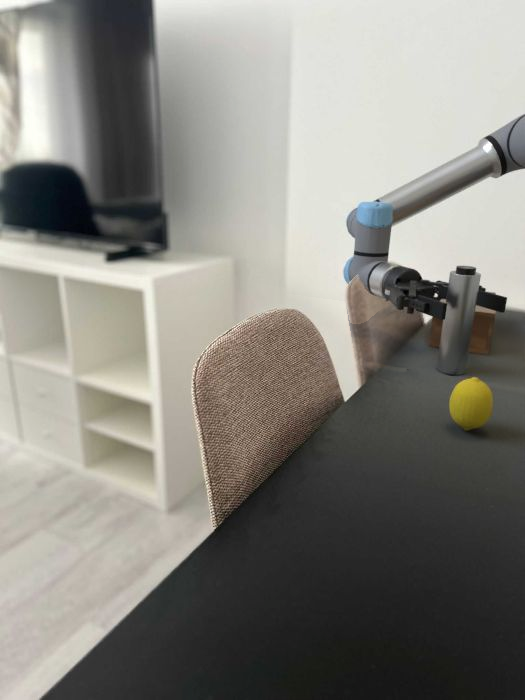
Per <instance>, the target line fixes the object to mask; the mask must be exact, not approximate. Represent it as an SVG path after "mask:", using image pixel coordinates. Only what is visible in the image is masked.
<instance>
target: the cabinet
mask: <svg viewBox="0 0 525 700" xmlns="http://www.w3.org/2000/svg"><path fill="white" fill-rule="evenodd" d="M440 301H441V302H444V303H446V299H441V300H440ZM496 315H497V311H494V310H491V309H487V308H484V307H481V306H477V305H476V308H475V315H474V321H473V327H472V333H471V339H470V345H469V351H468V353H472V354H478V355H485V356H489V354H490V348H491V341H492V336H493V332H494V331H493V330H494V325H495V319H496ZM431 317H432V316H431ZM442 326H443V320H441V319H438V318H435V317H432V318H431V326H430V332H429V340H428V347H430V348H431V347H432V348H438V349H439V347H440V340H441V333H442Z"/></svg>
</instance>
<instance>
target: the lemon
mask: <svg viewBox="0 0 525 700" xmlns="http://www.w3.org/2000/svg"><path fill="white" fill-rule="evenodd" d="M448 406H449V415H450V416H451V419H452V420H453V422H454V423H456V424H457V425H458V426H460V427H461V428H462V430H465V431H466V432H467V431H468V432H469V431H470V430H472V429H478V428H481V427H482V426H483V425H485V424H486V423H487V422H488V421H489V419H490V418H491V415H492V413H493V408H494V407H493V406H494V400H493V392H492V390H491V388H490V387H489V385H487V384H486V382H484V381H482V380H481V379H480V378H479V377H477V376H472V377H471V378H465V379H463V380H461V381H460V382H458V383H457V384H456V385H455V386H454V388H453V390H452V392H451V394H450V398H449V402H448Z"/></svg>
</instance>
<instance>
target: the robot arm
mask: <svg viewBox="0 0 525 700" xmlns="http://www.w3.org/2000/svg"><path fill="white" fill-rule="evenodd" d="M519 170H525V113H523V114H520V115H519V116H518V117H516V118H514V119H513V120H511V121H509V122H508V123H506V124H504V125H503V126H501V127H500V128H498V129H497V130H494V131H493V132H491V133H490V134H488V135H486V136H484V137H482V138H480V140H478V143H477V145H476V146H475V147H473V148H471V149H469V150H468V151H466V152H464V153H462V154H460V155H458V156H456V157H454V158H453V159H451V160H448V161H446V162H444V163H442V164H441V165H439V166H437V167H435V168H433V169H431V170H430V171H427V172H425V173H424V174H422V175H420V176H418V177H416V178H414V179H412V180H410V181H409V182H406V183H405V184H403V185H401V186H399V187H397V188H395V189H393V190H391V191H390V192H387V193H386V194H384V195H382V196H380V197H378V198H377V199H375V200H373V201H361V202H360V203H358V205H357V207H355V208H353V209H352V210H350V212H349V213H348V215H347V217H346V219H345V225H346V229H347V233H349V234H350V235H351V237H352V238H353V239H354V249H353V255H352V256H351V257H350V258H349V259H348V260H347V261H346V263H345V265H344V266H343V271H342V274H343V279H344V281H345V283H346V284H348V285H349V282H350V281H351V280H352V279H353V278H354V277H355V276H356V275H357V274H358V275H359V278H360V280H361V282H362V283H363V285H364V287H365V289H366V290H367V291H368V292H369V293H370V295H372V296H375V297H378V298H381V299H383V301H384V302H391V304H392V305H393V306H394V307H395V309H396V310H399V311H402V310H404V308H406V314H409V315H413V314H415V311H416V312H419V313H421V314H424V315H427V316H430V317H435V318H438V319H441V320H445V316H446V309H447V303H444V302H441V301H440V300H441V299H446V298H447V291H448V284H449V282H447V281H442V280H436V281H431V280H429V279H424V278H423V277H422V275H421V273H420V272H419V271H418V270H417V269H415V268H412V267H406V266H403V265H400V264H397V263H392V262H389V253H390V243H391V234H392V228H393V227H394V226H397V225H399V224H401V223H402V222H405V221H407V220H408V219H411V218H412V217H414V216H416V215H418V214H421V213H422V212H424V211H426V210H428V209H430V208H432V207H433V206H436V205H438V204H440V203H442V202H444V201H445V200H447V199H449V198H452V197H454V196H455V195H457V194H460V193H461V192H464V191H465V190H467V189H470V188H471V187H473V186H475V185H477V184H479V183H481V182H483V181H485V180H487V179H489V178H492V179H499V178H501V177H503V176H505V175H506V174H509V173H513V172H516V171H519ZM486 290H487V288H485V287H483V285H480V284H479V290H478V296H477V302H476V305H477V306H481V307H484V308H487V309H491V310H494V311H496V313H500V314H502V313H503V314H505V313H506V307H507V301H508V297H507V296H504V295H499V294H492V293H489V292H490V291H486ZM369 293H368V294H369ZM436 295H437V296H436Z"/></svg>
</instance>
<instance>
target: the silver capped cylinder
mask: <svg viewBox="0 0 525 700" xmlns="http://www.w3.org/2000/svg"><path fill="white" fill-rule="evenodd" d="M481 277H482V274H481V273H480V272H477V267H475V266H471V265H456V267H455V270H451V271H450V272H449V277H448V283H449V284H448V291H447V298H446V303H447V309H446V316H445V320H443V326H442V333H441V340H440V347H439V348H438V355H437V360H436V370H437V371H438V372H440V373H442V374H444V375H449V376H462V375H464V374H465V373H466V369H467V364H468V358H469V352H468V351H469V345H470V339H471V333H472V327H473V321H474V315H475V308H476V302H477V296H478V290H479V285H480V283H481Z"/></svg>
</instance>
